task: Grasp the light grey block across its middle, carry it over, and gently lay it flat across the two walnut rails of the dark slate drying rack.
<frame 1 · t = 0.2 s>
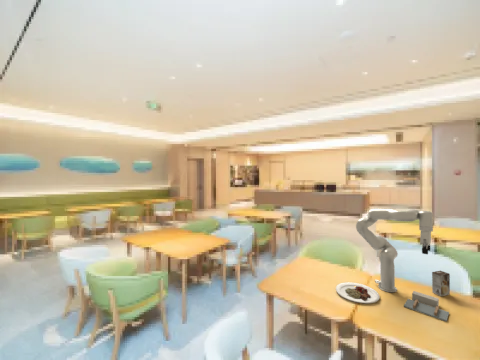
hand: (426, 252, 161), 36 cm above the table, tool pointing down, fingers open, 9 cm apart
plated food: (356, 294, 174), on the table
drying rack: (425, 310, 152), on the table
light grey block: (425, 302, 161), on the table
coffee box: (440, 293, 172), on the table
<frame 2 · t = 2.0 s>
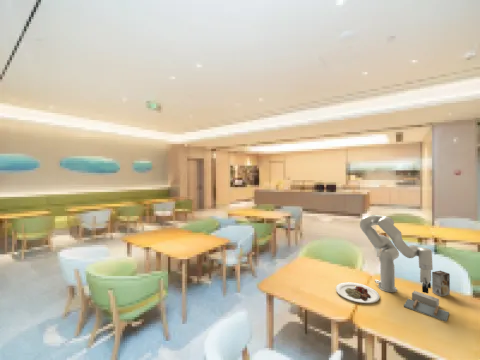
hand: (426, 290, 160), 9 cm above the table, tool pointing down, fingers open, 9 cm apart
nothing on the table moved.
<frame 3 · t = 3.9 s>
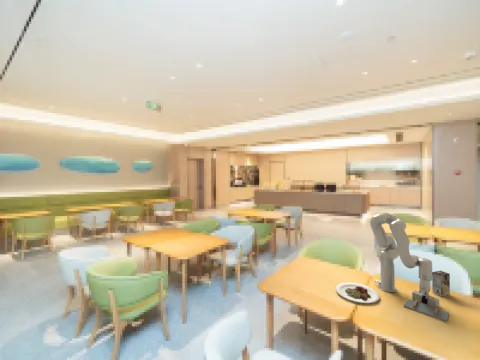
hand: (425, 301, 161), 1 cm above the table, tool pointing down, fingers closed on light grey block, 5 cm apart
light grey block: (425, 302, 161), on the table, touching gripper
everything else where it was.
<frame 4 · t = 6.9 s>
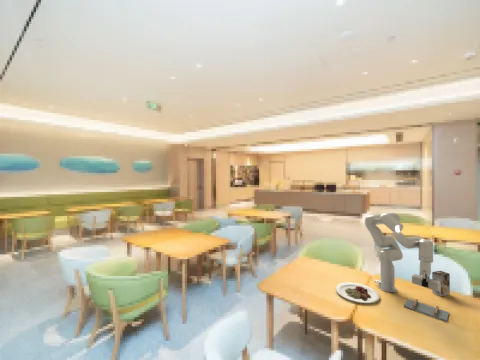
hand: (425, 284, 151), 17 cm above the table, tool pointing down, fingers closed on light grey block, 5 cm apart
light grey block: (425, 286, 151), point 16 cm above the table, touching gripper
everything else where it was.
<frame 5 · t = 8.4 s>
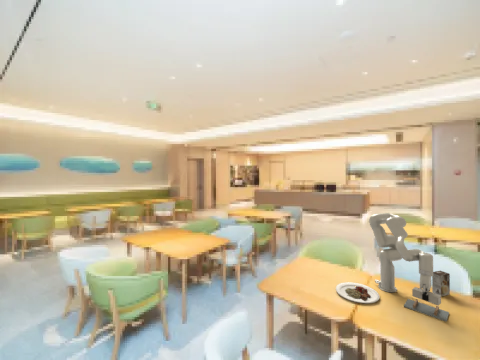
hand: (426, 298, 151), 8 cm above the table, tool pointing down, fingers closed on light grey block, 5 cm apart
light grey block: (426, 299, 151), point 7 cm above the table, touching gripper
everything else where it was.
when the fingers open (5 cm above the table, at t = 9.9 s): light grey block drops 1 cm, resting on drying rack.
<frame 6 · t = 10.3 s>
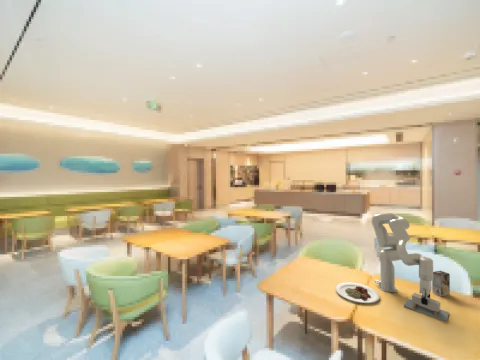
hand: (425, 301, 152), 6 cm above the table, tool pointing down, fingers open, 9 cm apart
light grey block: (425, 305, 152), point 3 cm above the table, touching drying rack
everything else where it was.
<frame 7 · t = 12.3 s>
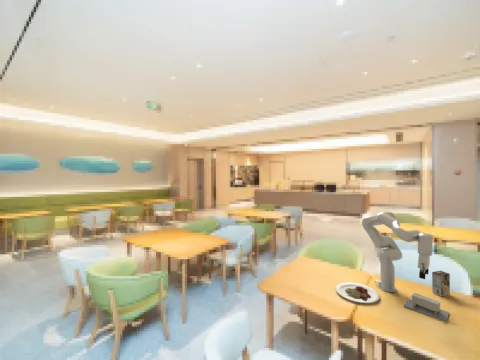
hand: (423, 276, 154), 22 cm above the table, tool pointing down, fingers open, 9 cm apart
nothing on the table moved.
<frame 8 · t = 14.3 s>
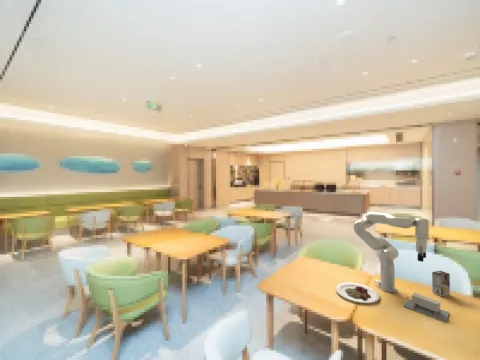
hand: (421, 259, 162), 30 cm above the table, tool pointing down, fingers open, 9 cm apart
nothing on the table moved.
at the end: light grey block 0.1 cm off-centre on the drying rack, point 3.0 cm above the drying rack's base; light grey block tilted 0°; the gripper is holding nothing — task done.
